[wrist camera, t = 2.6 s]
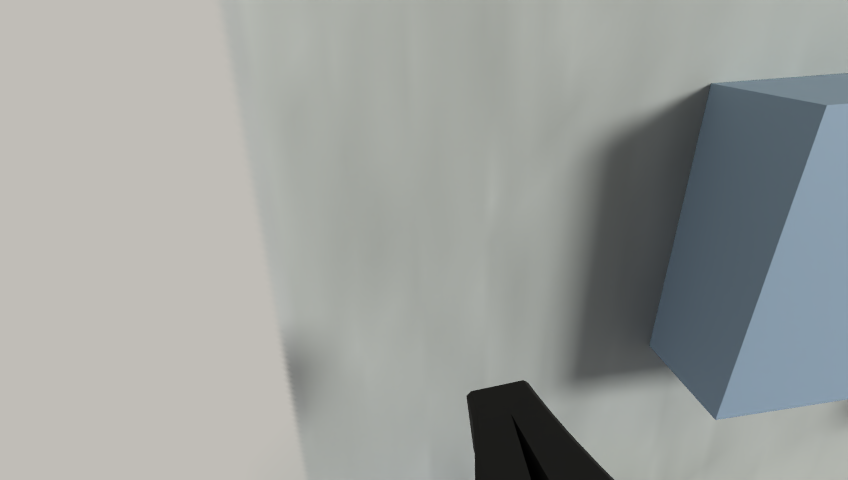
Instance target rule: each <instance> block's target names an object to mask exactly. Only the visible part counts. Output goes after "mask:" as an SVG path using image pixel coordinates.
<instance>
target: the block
mask: <svg viewBox="0 0 848 480" xmlns="http://www.w3.org/2000/svg"><path fill="white" fill-rule="evenodd" d="M649 346H650V347H651V348H652V349H653V350H654V351H655V353H656V354H657V355H658V356H659V357H660V358H661V359H662V360H663V362H664V363H665V364H666V365H667V366H668V367H669V368H670V369H671V371H672V372H673V373H674V374H675V375H676V376H677V377H678V378H679V379H680V381H681V382H682V383H683V384H684V385H685V386H686V387H687V388H688V390H689V391H690V392H691V393H692V394H693V395H694V396H695V397H696V399H697V400H698V401H699V402H700V403H701V404H702V405H703V406H704V408H705V409H706V410H707V411H708V412H709V413H710V414H711V415H712V416H713V418H714V419H715V420H718V419H725V418H731V417H737V416H744V415H750V414H757V413H763V412H769V411H776V410H782V409H789V408H795V407H801V406H808V405H814V404H821V403H827V402H833V401H840V400H846V399H848V73H844V74H830V75H817V76H804V77H791V78H777V79H764V80H751V81H738V82H724V83H711V86H710V91H709V95H708V99H707V103H706V108H705V112H704V116H703V120H702V125H701V129H700V133H699V137H698V142H697V146H696V150H695V154H694V159H693V163H692V167H691V171H690V176H689V180H688V184H687V188H686V192H685V197H684V201H683V205H682V209H681V214H680V218H679V222H678V226H677V231H676V235H675V239H674V243H673V248H672V252H671V256H670V260H669V265H668V269H667V273H666V277H665V281H664V286H663V290H662V294H661V298H660V303H659V307H658V311H657V315H656V320H655V324H654V328H653V332H652V337H651V341H650V345H649Z"/></svg>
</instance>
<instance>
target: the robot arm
mask: <svg viewBox="0 0 848 480" xmlns="http://www.w3.org/2000/svg"><path fill="white" fill-rule="evenodd" d="M467 403H468V410H469V418H470V425H471V433H472V440H473V448H474V453H475V480H614V479H613V478H612V477H611V476H610V475H609V474H608V473H607V472H606V471H605V470H604V469H603V468H602V467H601V466H600V465H599V464H598V463H597V462H596V461H595V460H594V459H593V458H592V457H591V456H590V454H589V453H588V452H587V451H586V450H585V449H584V448H583V447H582V446H581V445H580V444H579V443H578V442H577V441H576V440H575V439H574V437H573V436H572V435H571V434H570V433H569V432H568V431H567V430H566V429H565V427H564V426H563V425H562V424H561V423H560V422H559V421H558V419H557V418H556V417H555V416H554V415H553V414H552V412H551V411H550V410H549V409H548V408H547V406H546V405H545V404H544V403H543V401H542V400H541V399H540V398H539V396H538V395H537V394H536V393H535V391H534V390H533V389H532V387H531V386H530V385H529V383H527V382H526V381H524V380H523V381H518V382H513V383H508V384H504V385H499V386H494V387H490V388H485V389H480V390H475V391H471V392H470V393H469V394H468V395H467Z"/></svg>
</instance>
